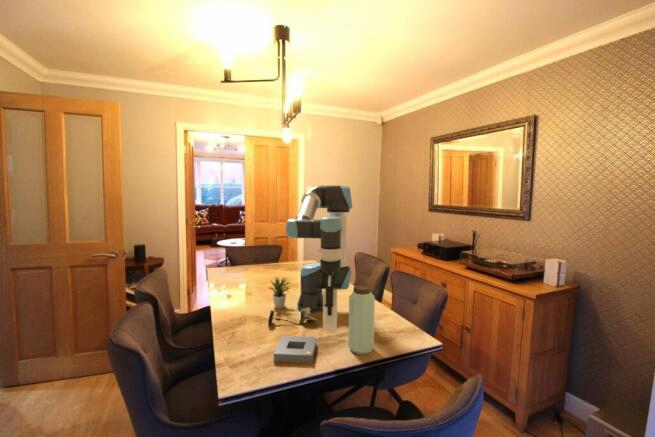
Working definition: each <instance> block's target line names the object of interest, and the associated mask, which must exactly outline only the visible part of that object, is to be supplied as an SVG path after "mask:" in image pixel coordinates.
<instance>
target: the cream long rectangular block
mask: <svg viewBox="0 0 655 437" xmlns="http://www.w3.org/2000/svg"><path fill="white" fill-rule="evenodd" d="M322 293H323V310H322V329H323V330H333V331H335V330H337V327H338V289H333V306H334V311H333V324H332V323H326V307H324V305H326V289H323V290H322Z"/></svg>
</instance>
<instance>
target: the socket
mask: <svg viewBox="0 0 655 437" xmlns="http://www.w3.org/2000/svg"><path fill="white" fill-rule="evenodd" d="M275 348H276V349H275V350H274V352H273V362H275V363H276V362H277V363H297V364H298V363H299V364H313V360H314V356H315V351H316V348H317V337H316V336H312V337H311V336H293V335H292V336H291V335H282V336H281V337H280V340H279V342H278V343H277V346H276V347H275Z"/></svg>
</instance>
